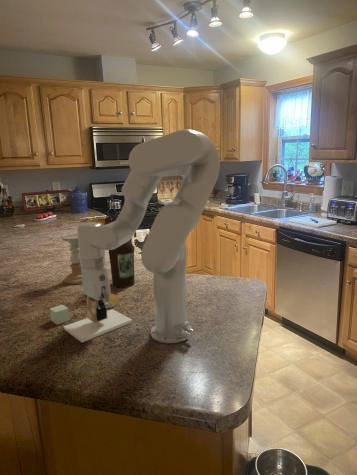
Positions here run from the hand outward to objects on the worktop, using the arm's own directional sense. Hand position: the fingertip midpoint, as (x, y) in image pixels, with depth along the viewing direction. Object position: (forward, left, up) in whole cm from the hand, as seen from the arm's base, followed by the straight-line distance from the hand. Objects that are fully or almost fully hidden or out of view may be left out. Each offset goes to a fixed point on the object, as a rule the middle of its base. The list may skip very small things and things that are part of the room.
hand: (97, 316), depth 113 cm
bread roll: (+13, -11, -4) cm, 18 cm away
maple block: (0, 0, -1) cm, 1 cm away
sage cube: (+13, +7, -3) cm, 15 cm away
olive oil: (+27, -28, -4) cm, 39 cm away
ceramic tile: (0, 0, -3) cm, 3 cm away
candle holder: (+47, -17, -4) cm, 50 cm away
